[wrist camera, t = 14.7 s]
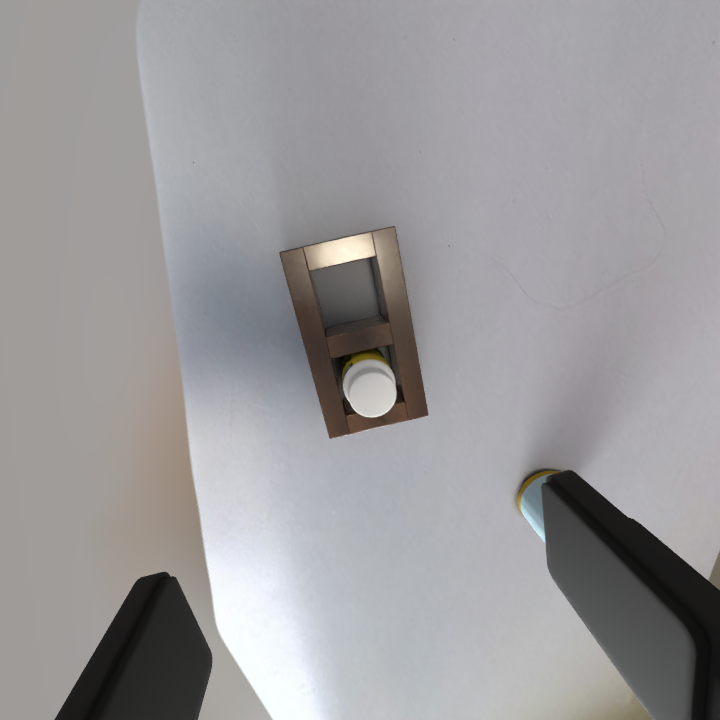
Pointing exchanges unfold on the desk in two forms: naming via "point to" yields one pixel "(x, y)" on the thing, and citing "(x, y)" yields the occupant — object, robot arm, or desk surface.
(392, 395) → the supplement bottle
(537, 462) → the desk surface
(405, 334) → the holder
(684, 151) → the desk surface
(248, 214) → the desk surface
